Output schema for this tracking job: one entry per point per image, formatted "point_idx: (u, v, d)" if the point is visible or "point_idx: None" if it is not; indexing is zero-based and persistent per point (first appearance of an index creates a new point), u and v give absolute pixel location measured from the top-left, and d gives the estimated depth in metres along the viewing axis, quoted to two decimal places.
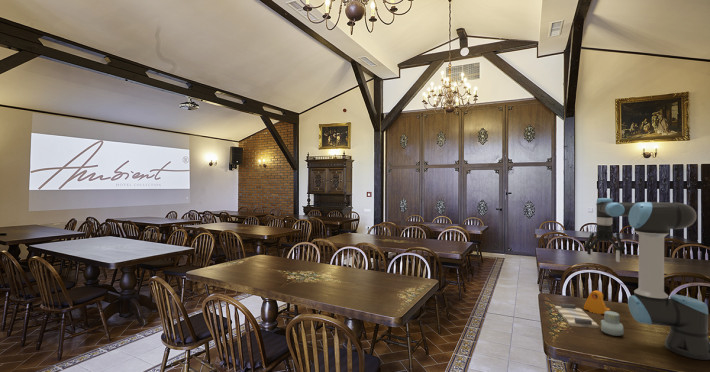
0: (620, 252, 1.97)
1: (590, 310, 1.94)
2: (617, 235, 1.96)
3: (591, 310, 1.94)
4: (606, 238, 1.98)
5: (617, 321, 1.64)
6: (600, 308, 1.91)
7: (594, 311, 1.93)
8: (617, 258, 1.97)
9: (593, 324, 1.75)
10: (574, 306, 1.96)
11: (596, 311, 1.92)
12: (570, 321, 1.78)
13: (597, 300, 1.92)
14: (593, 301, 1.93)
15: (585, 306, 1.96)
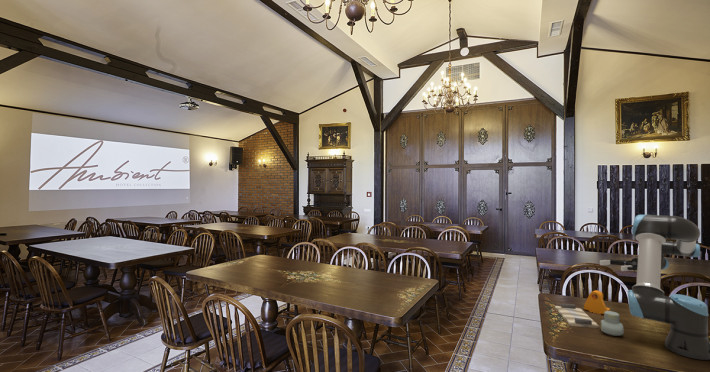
0: (631, 267, 1.89)
1: (590, 310, 1.94)
2: None
3: (591, 310, 1.94)
4: (631, 263, 1.98)
5: (617, 321, 1.64)
6: (600, 308, 1.91)
7: (594, 311, 1.93)
8: None
9: (593, 324, 1.75)
10: (574, 306, 1.96)
11: (596, 311, 1.92)
12: (570, 321, 1.78)
13: (597, 300, 1.92)
14: (593, 301, 1.93)
15: (585, 306, 1.96)
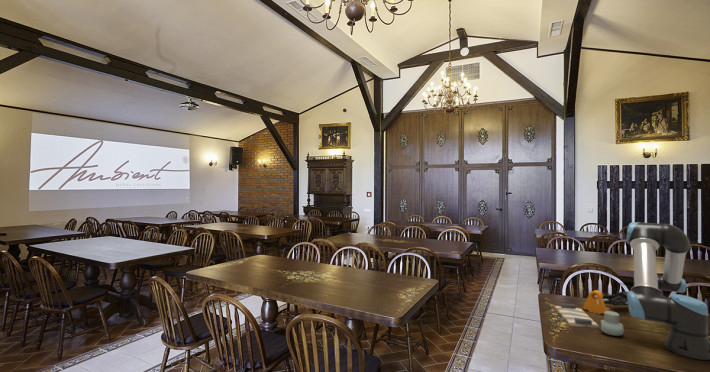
0: (607, 301, 1.91)
1: (590, 310, 1.94)
2: (626, 300, 1.91)
3: (591, 310, 1.94)
4: (617, 297, 1.96)
5: (617, 321, 1.64)
6: (600, 308, 1.91)
7: (594, 311, 1.93)
8: None
9: (593, 324, 1.75)
10: (574, 306, 1.96)
11: (596, 311, 1.92)
12: (570, 321, 1.78)
13: None
14: (593, 301, 1.93)
15: (585, 306, 1.96)
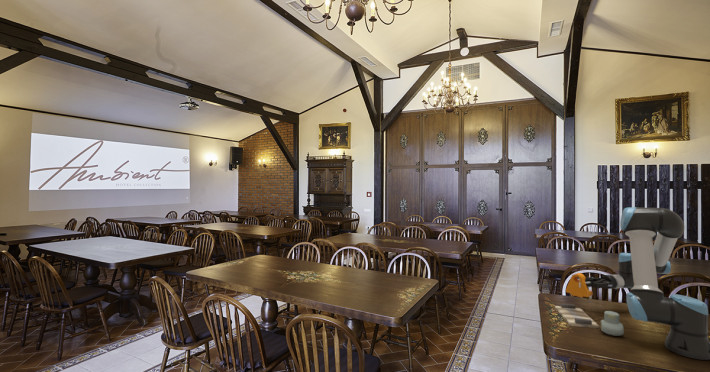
0: (590, 283, 1.86)
1: (572, 293, 1.89)
2: (609, 282, 1.86)
3: (573, 293, 1.89)
4: None
5: (617, 321, 1.64)
6: (582, 291, 1.85)
7: (576, 294, 1.87)
8: None
9: (593, 324, 1.75)
10: (574, 306, 1.96)
11: (578, 294, 1.87)
12: (570, 321, 1.78)
13: None
14: (575, 284, 1.88)
15: (567, 289, 1.91)
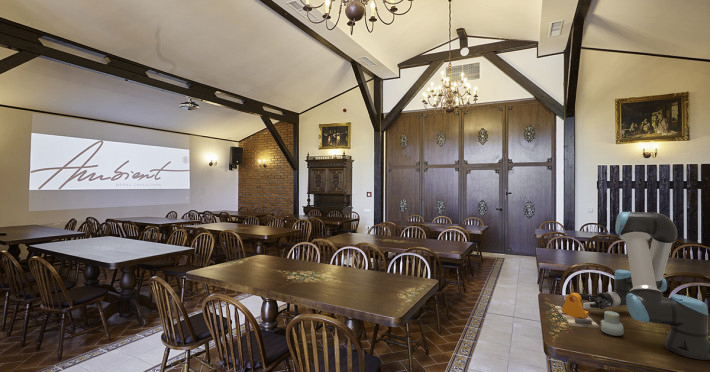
0: (594, 304, 1.80)
1: (568, 313, 1.86)
2: (608, 301, 1.83)
3: (569, 313, 1.86)
4: (596, 298, 1.88)
5: (617, 321, 1.64)
6: (578, 311, 1.82)
7: (572, 314, 1.84)
8: None
9: (593, 324, 1.75)
10: None
11: (574, 314, 1.84)
12: (570, 321, 1.78)
13: (575, 303, 1.83)
14: (571, 304, 1.85)
15: (563, 309, 1.88)
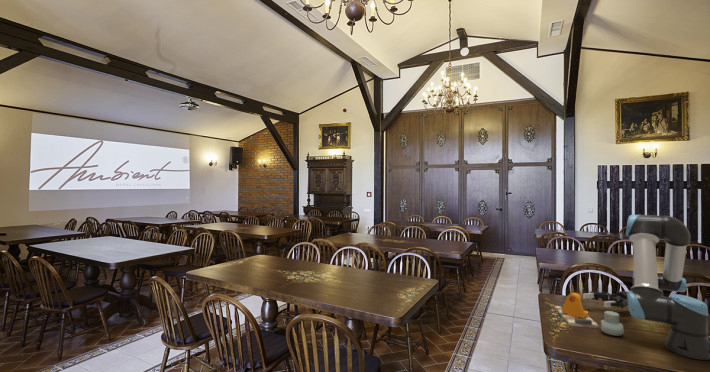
0: (615, 303, 1.82)
1: (568, 313, 1.86)
2: (627, 300, 1.85)
3: (569, 313, 1.86)
4: (615, 297, 1.90)
5: (617, 321, 1.64)
6: (578, 311, 1.82)
7: (572, 314, 1.84)
8: None
9: (593, 324, 1.75)
10: None
11: (574, 314, 1.84)
12: (570, 321, 1.78)
13: (575, 303, 1.83)
14: (571, 304, 1.85)
15: (563, 309, 1.88)
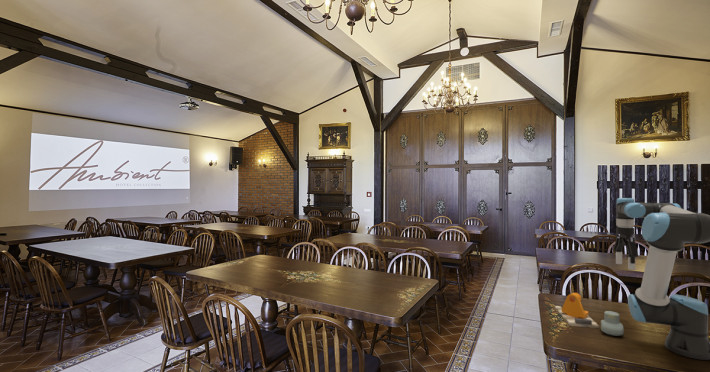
0: (631, 259, 1.75)
1: (568, 313, 1.86)
2: (628, 239, 1.77)
3: (569, 313, 1.86)
4: None
5: (617, 321, 1.64)
6: (578, 311, 1.82)
7: (572, 314, 1.84)
8: None
9: (593, 324, 1.75)
10: None
11: (574, 314, 1.84)
12: (570, 321, 1.78)
13: (575, 303, 1.83)
14: (571, 304, 1.85)
15: (563, 309, 1.88)
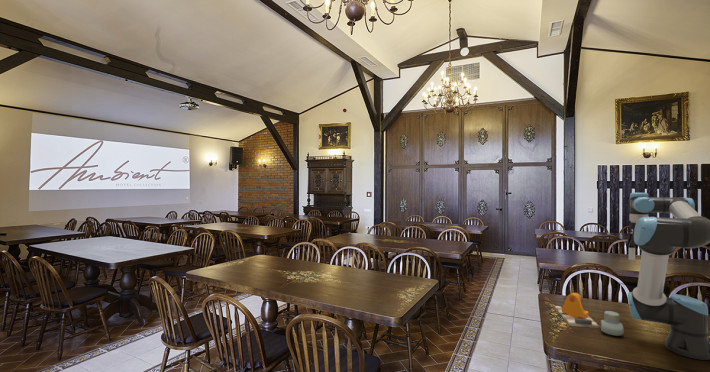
0: None
1: (568, 313, 1.86)
2: None
3: (569, 313, 1.86)
4: None
5: (617, 321, 1.64)
6: (578, 311, 1.82)
7: (572, 314, 1.84)
8: None
9: (593, 324, 1.75)
10: None
11: (574, 314, 1.84)
12: (570, 321, 1.78)
13: (575, 303, 1.83)
14: (571, 304, 1.85)
15: (563, 309, 1.88)
